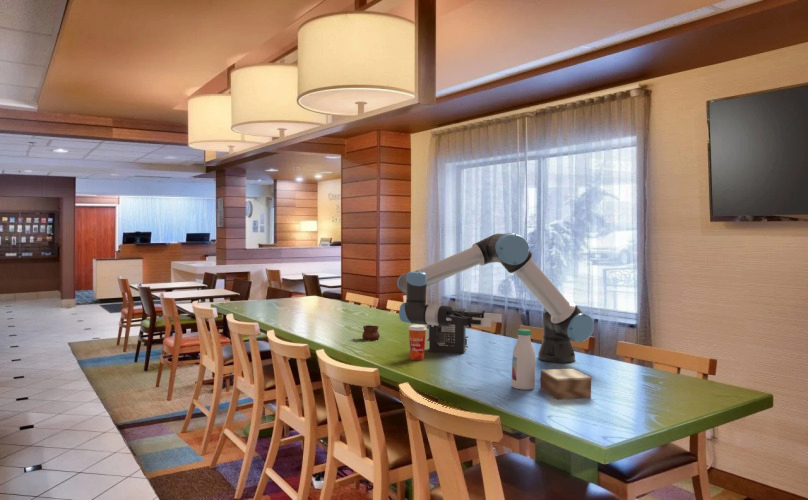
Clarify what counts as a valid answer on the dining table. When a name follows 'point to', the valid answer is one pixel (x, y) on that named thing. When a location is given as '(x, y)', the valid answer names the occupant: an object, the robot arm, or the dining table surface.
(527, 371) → the milk bottle
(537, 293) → the robot arm
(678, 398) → the dining table surface
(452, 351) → the router
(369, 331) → the ceramic pot
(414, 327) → the paper cup
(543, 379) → the block
